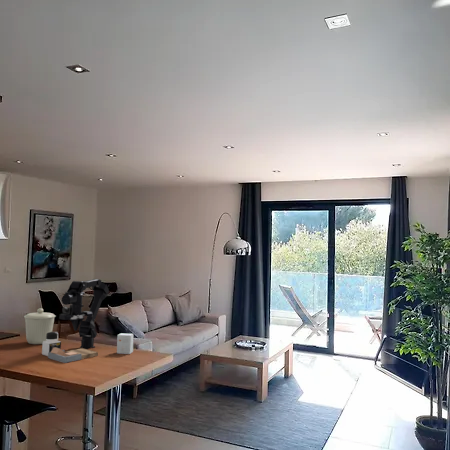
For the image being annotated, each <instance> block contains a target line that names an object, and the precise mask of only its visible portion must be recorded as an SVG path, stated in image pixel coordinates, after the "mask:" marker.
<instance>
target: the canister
mask: <svg viewBox="0 0 450 450" xmlns="http://www.w3.org/2000/svg"><path fill="white" fill-rule="evenodd" d="M36 311H37V312H30V313H27V314H26V315H24V316H23V318H24V321H25V337H26V342H27V343H28V344H29V345H42V344H43V341H47V340H46V334H47V333H49V332H53V330H54V329H53V328H54V322H55V318H56V317H57V315H55V314H54V313H51V312H44V309H43V308H42V307H40V308H38V309H37V310H36Z"/></svg>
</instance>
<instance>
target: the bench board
mask: <svg viewBox="0 0 450 450" xmlns="http://www.w3.org/2000/svg"><path fill="white" fill-rule="evenodd" d="M69 352H75V353H78V354H82V355H81V360H83V359H84V358H85V359H90V358H95V357H98V356H99V352H98V351H94V350H90V349H85V348H81V347H80V348H78V349H71V350H65V353H69ZM94 356H95V357H94ZM89 357H90V358H89Z"/></svg>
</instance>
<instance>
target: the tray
mask: <svg viewBox="0 0 450 450" xmlns="http://www.w3.org/2000/svg"><path fill="white" fill-rule="evenodd" d="M61 350H62V351H64V352H65V351H66V349H61ZM81 355H82V354H77V355H72V356H67V357H65V356H61V355H58V354H54V353H51V352H48V356H47V359H50V360H52V361H56V362H59V363H64V364H68V363H72V361H73V362H76V361H81V360H82V359H81Z"/></svg>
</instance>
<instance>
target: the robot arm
mask: <svg viewBox="0 0 450 450" xmlns="http://www.w3.org/2000/svg"><path fill="white" fill-rule="evenodd" d="M87 288H91V289H92V290H93V300H92V303H91V306H90V308H89V311H88V310H85V311H84V310H83V307H84V304H83V298H84V297H83V295H85V292H84V291H85V290H87ZM109 292H110V290H109V287H108V286H107V285H106V283H104V282H103V281H102V280H101V279H99V278H93V279H89V280H84V281H83V280H73V281H71V284H70V285H69V286H68V289H67V291H65V292H64V295H63V296H62V297H61V303H62V304H63V305H65V306H63V307H62V311H61V312H62V313H60V314H59V315H58V316H59V317H58V319H59V320H64V321H67V320H69V321H70V322H71V324H72V328H73V331H75V332H76V331H78V333H79V334H78V335H79V338H81V343H80V346H79V348H80V349H81V348H83V349H87V350H90V349H94V348H96V346H95V345H94V344H95V343H94V341H95V338H96V337H97V335H98V333H97V331H96V324H95V320H96V317H97V315H98V312H99V310H100V307H101V305H102V302H103V301H104V300H105V299H106V298H107V297H108V295H109ZM68 305H69V307H67V306H68ZM84 317H86V319H85V318H84Z"/></svg>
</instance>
